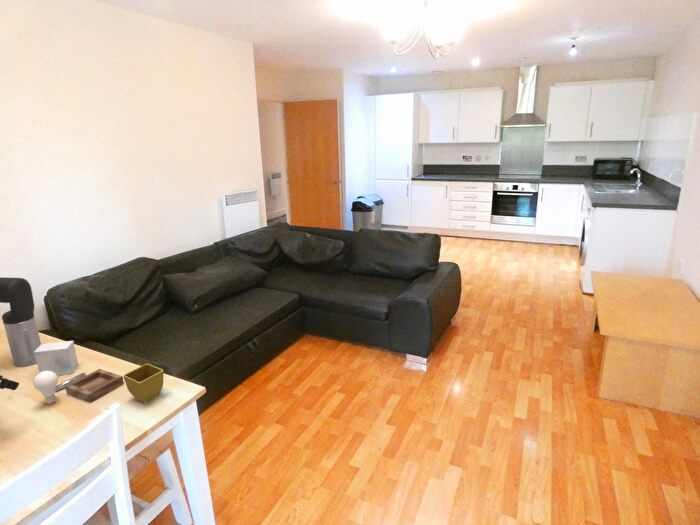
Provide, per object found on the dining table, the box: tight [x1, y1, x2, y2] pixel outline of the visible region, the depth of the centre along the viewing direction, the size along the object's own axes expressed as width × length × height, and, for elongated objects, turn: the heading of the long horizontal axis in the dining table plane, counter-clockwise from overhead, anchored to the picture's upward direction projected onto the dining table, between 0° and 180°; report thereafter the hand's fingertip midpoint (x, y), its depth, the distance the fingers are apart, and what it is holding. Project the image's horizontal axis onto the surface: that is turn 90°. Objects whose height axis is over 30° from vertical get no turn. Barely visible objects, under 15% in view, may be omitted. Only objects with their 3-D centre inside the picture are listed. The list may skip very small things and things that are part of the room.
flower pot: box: [123, 363, 164, 403], centre depth 135 cm, size 9×9×9 cm
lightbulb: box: [32, 371, 59, 404], centre depth 132 cm, size 6×6×11 cm
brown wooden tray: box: [64, 368, 125, 404], centre depth 141 cm, size 12×12×3 cm
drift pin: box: [54, 372, 87, 393], centre depth 144 cm, size 11×2×2 cm, turn 155°
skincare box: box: [34, 340, 80, 376], centre depth 151 cm, size 10×6×10 cm, turn 104°
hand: (8, 383), depth 122 cm, fingers open, 8 cm apart
